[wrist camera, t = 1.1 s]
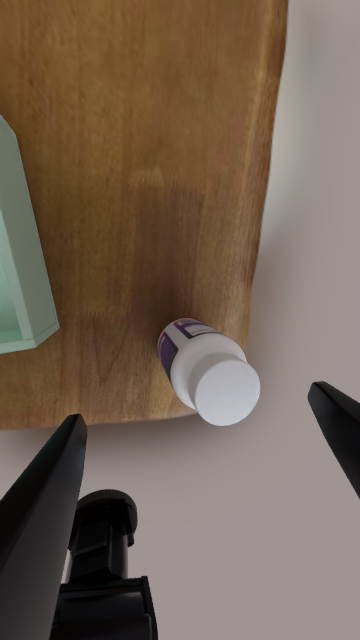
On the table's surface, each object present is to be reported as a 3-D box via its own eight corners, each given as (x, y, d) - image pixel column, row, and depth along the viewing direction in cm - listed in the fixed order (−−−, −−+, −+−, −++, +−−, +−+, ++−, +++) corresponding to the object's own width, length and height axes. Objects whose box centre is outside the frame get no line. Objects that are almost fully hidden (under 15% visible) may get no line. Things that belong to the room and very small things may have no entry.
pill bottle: (183, 382, 23) (224, 455, 14) (144, 346, 21) (160, 400, 12) (222, 343, 23) (288, 388, 14) (186, 305, 22) (233, 326, 12)
